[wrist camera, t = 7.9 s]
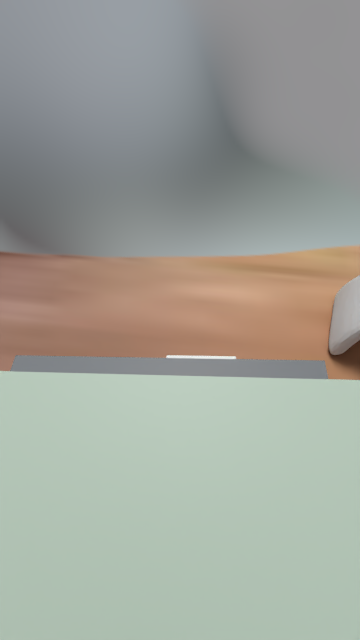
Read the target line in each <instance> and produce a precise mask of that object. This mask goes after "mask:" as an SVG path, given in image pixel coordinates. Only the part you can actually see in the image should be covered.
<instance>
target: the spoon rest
mask: <svg viewBox="0 0 360 640" xmlns="http://www.w3.org/2000/svg"><path fill="white" fill-rule="evenodd" d="M359 340H360V275H359V276H358V277H356V278H354V279H352V280H351V281H350V282H348V283H347V284H345V285H344V286H343V287H342V288H341V289H340V290H339V291H338V293H337V294H336V296H335V300H334V306H333V314H332V320H331V327H330V336H329V350H330V353H331V354H333V355H339V354H342V353H344V352H345V351H346V350H348V349H349V348H350V347H351V346H352V345H354V344H355V343H356V342H358V341H359Z"/></svg>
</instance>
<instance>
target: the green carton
mask: <svg viewBox="0 0 360 640" xmlns="http://www.w3.org/2000/svg"><path fill="white" fill-rule="evenodd" d="M0 640H360V380H335V379H295V378H255V377H215V376H175V375H135V374H95V373H54V372H14V371H0Z"/></svg>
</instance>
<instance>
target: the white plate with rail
mask: <svg viewBox="0 0 360 640" xmlns="http://www.w3.org/2000/svg"><path fill="white" fill-rule="evenodd" d="M10 371H14V372H54V373H95V374H135V375H175V376H215V377H255V378H295V379H328V375H327V370H326V365H325V361H312V360H253V359H236V357H233V356H171V355H167V358H135V357H77V356H18V355H16V356H15V359H14V362H13V365H12V368H11V370H10Z"/></svg>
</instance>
